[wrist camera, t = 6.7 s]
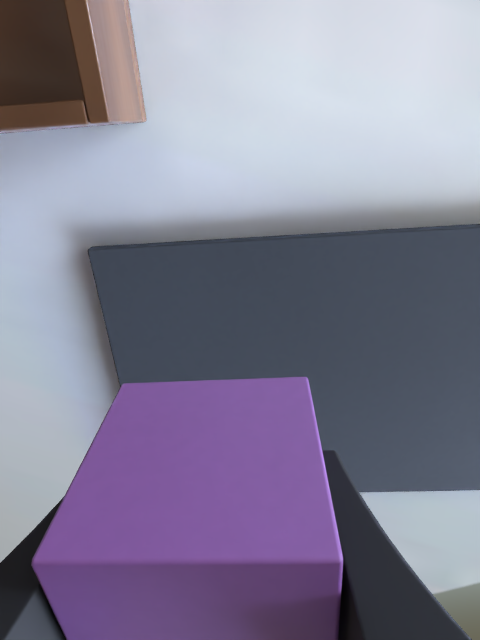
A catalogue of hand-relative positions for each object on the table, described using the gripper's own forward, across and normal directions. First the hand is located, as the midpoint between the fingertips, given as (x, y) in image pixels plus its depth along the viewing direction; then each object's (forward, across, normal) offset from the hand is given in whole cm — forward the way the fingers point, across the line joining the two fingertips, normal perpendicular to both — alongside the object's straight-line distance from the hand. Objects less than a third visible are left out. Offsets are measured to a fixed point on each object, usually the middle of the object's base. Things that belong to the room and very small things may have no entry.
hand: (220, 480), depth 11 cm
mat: (+8, -4, +3) cm, 10 cm away
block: (+1, 0, 0) cm, 1 cm away
